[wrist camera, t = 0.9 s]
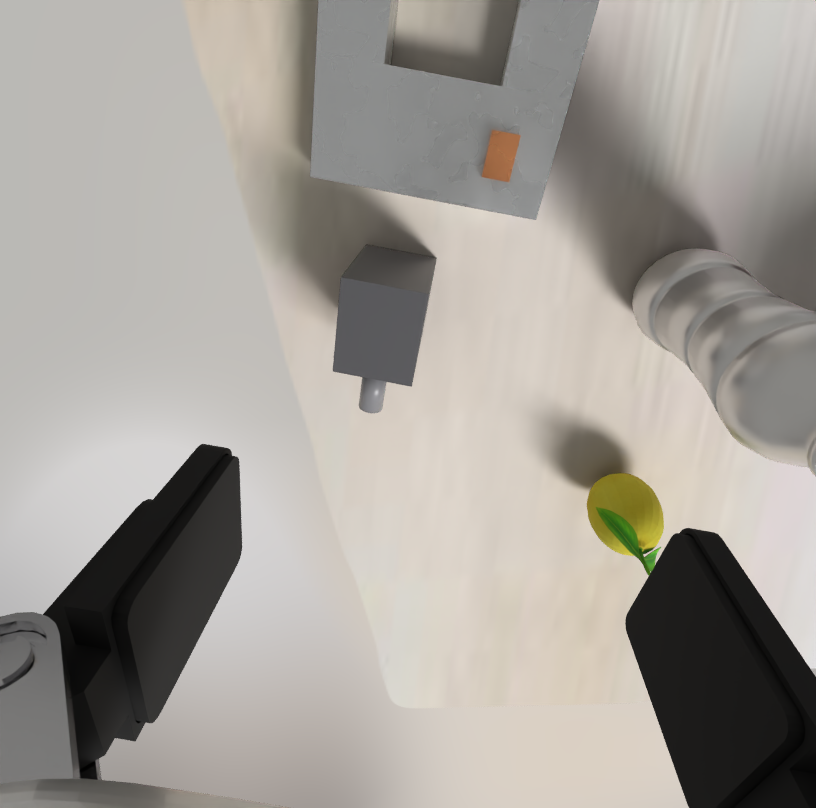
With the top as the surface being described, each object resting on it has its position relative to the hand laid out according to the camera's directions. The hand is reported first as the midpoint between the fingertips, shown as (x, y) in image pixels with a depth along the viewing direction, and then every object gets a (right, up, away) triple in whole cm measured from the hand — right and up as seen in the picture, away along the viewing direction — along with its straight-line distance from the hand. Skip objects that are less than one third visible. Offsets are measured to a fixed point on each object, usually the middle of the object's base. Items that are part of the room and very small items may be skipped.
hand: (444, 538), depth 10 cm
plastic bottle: (+18, +11, +22) cm, 30 cm away
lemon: (+17, -4, +31) cm, 36 cm away
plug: (-2, +10, +25) cm, 27 cm away
